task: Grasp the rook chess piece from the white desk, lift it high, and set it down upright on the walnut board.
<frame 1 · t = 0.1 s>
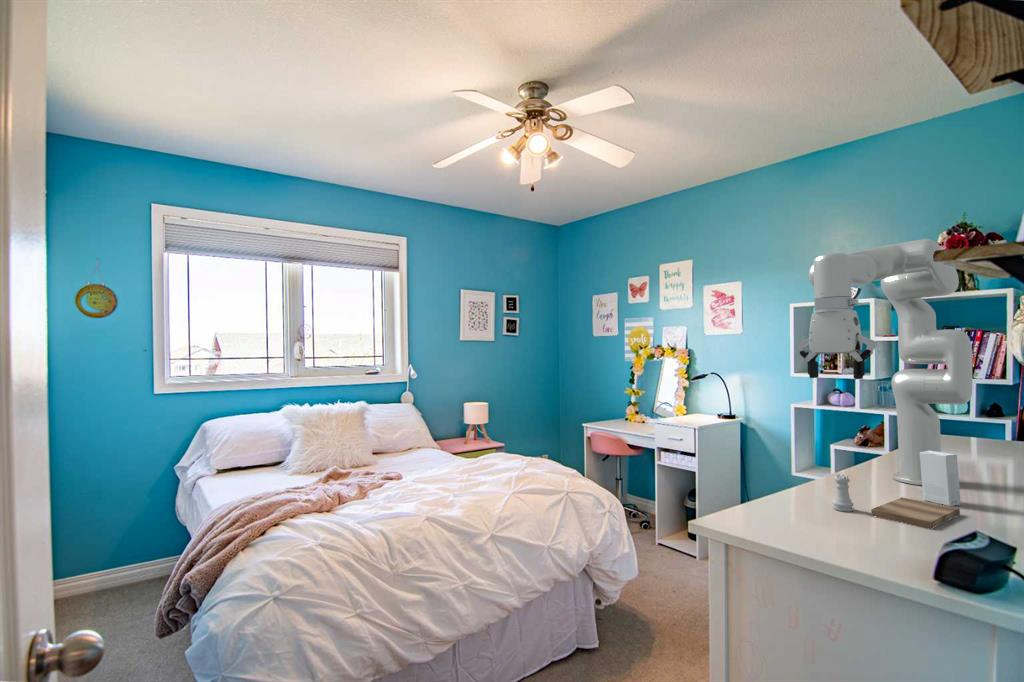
hand: (835, 378, 122), 31 cm above the table, tool pointing down, fingers open, 9 cm apart
rook chess piece: (842, 510, 121), on the table
skincare box: (940, 503, 125), on the table
walnut board: (915, 515, 116), on the table
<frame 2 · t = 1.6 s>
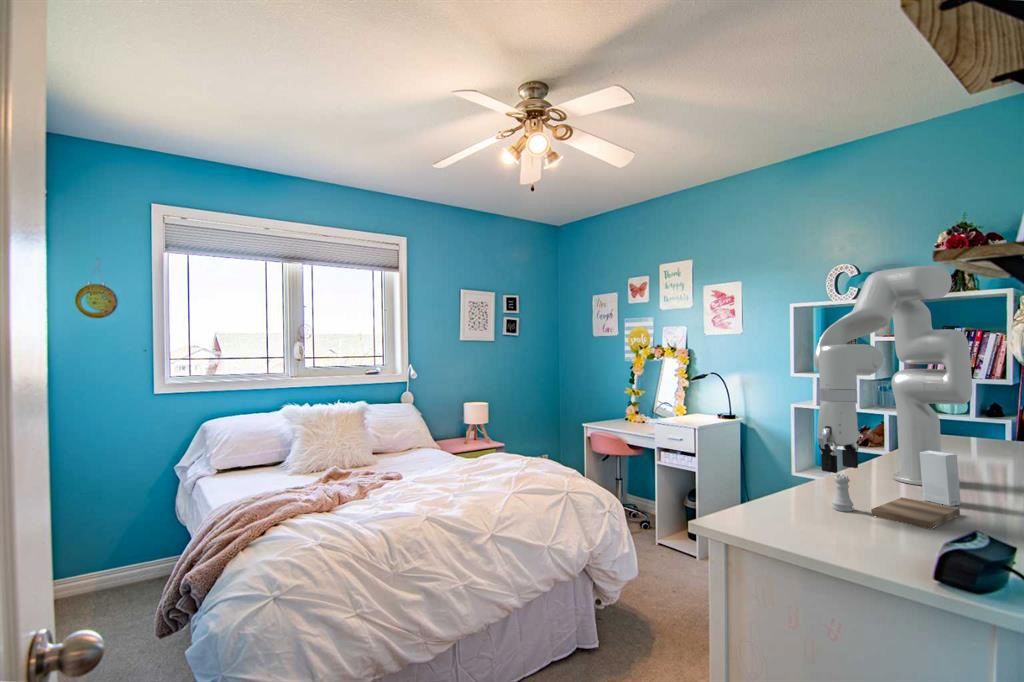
hand: (840, 469, 121), 9 cm above the table, tool pointing down, fingers open, 9 cm apart
nothing on the table moved.
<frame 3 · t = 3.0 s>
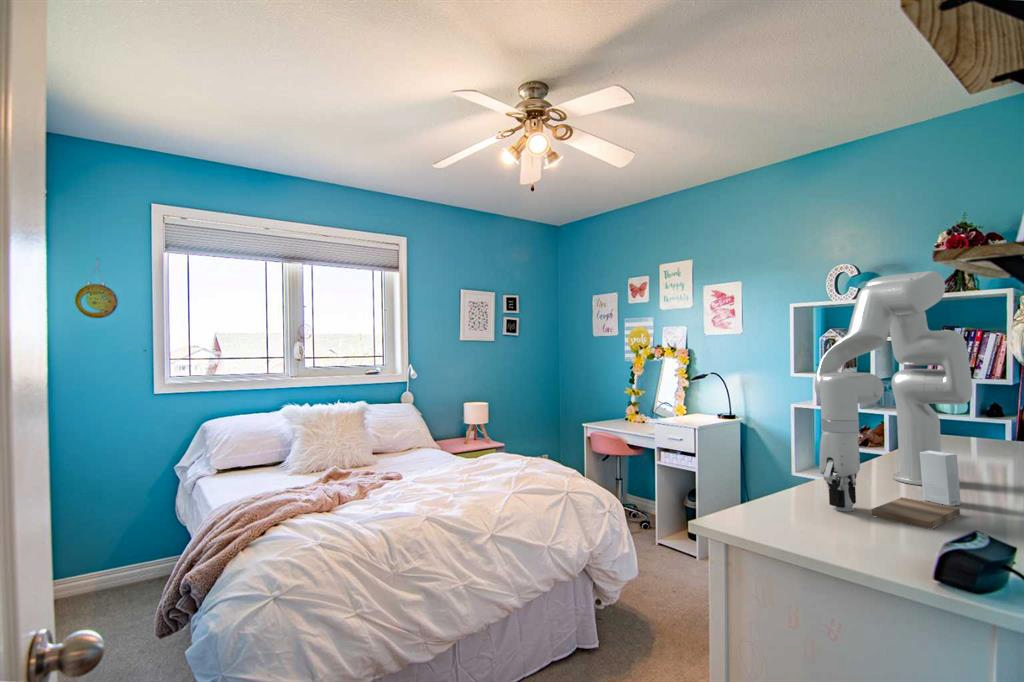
hand: (842, 503, 121), 1 cm above the table, tool pointing down, fingers closed on rook chess piece, 4 cm apart
rook chess piece: (842, 510, 121), on the table, touching gripper
everything else where it was.
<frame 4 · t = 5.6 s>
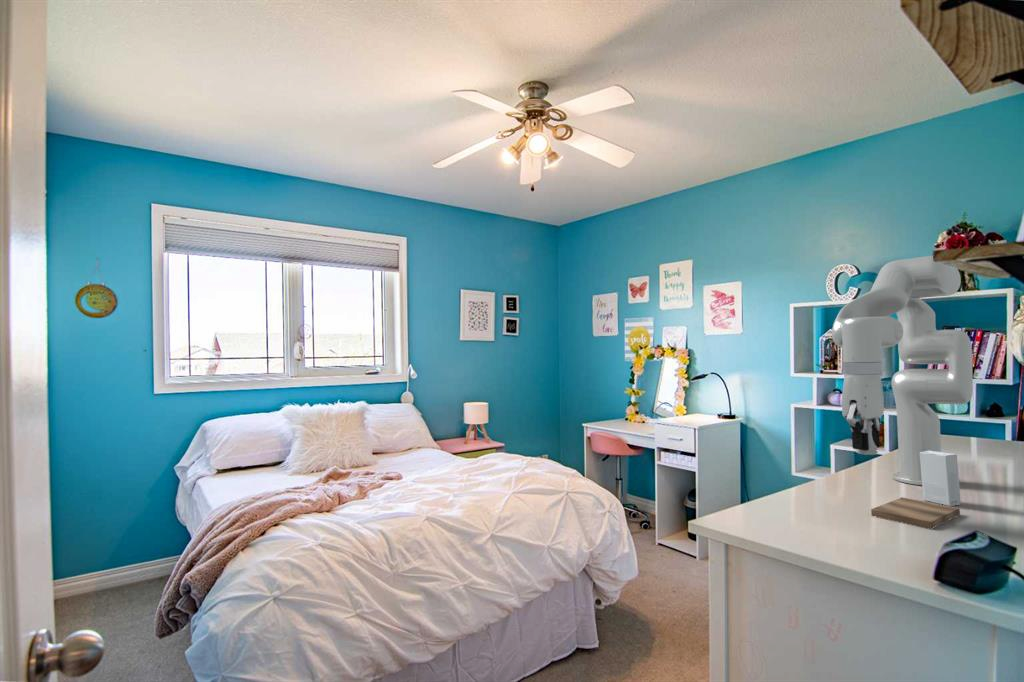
hand: (866, 447, 120), 15 cm above the table, tool pointing down, fingers closed on rook chess piece, 4 cm apart
rook chess piece: (866, 454, 120), point 13 cm above the table, touching gripper
everything else where it was.
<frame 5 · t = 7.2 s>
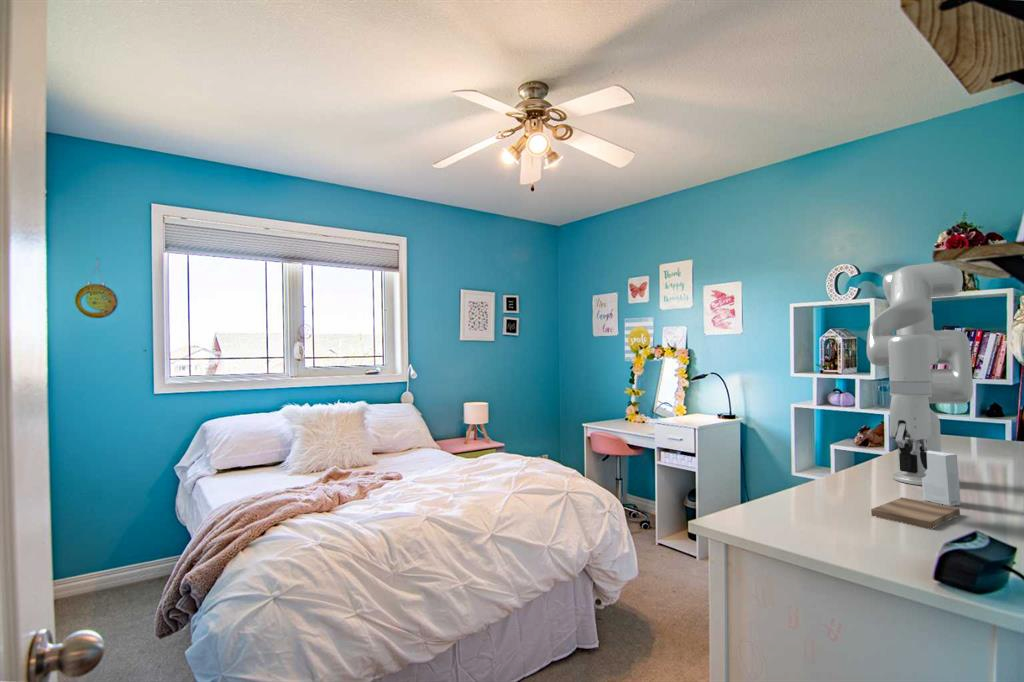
hand: (913, 469, 116), 10 cm above the table, tool pointing down, fingers closed on rook chess piece, 4 cm apart
rook chess piece: (914, 476, 116), point 9 cm above the table, touching gripper
everything else where it was.
when the fingers open (4 cm above the table, at t = 8.6 s): rook chess piece drops 1 cm, resting on walnut board.
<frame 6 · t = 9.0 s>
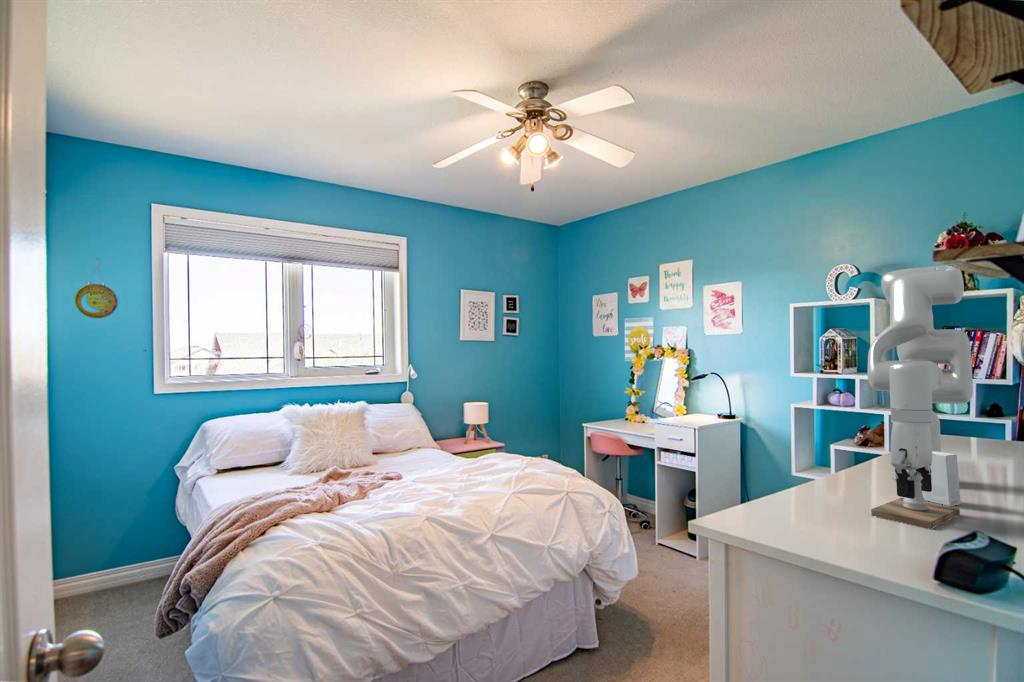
hand: (914, 493, 116), 5 cm above the table, tool pointing down, fingers open, 8 cm apart
rook chess piece: (915, 509, 116), point 1 cm above the table, touching walnut board
everything else where it was.
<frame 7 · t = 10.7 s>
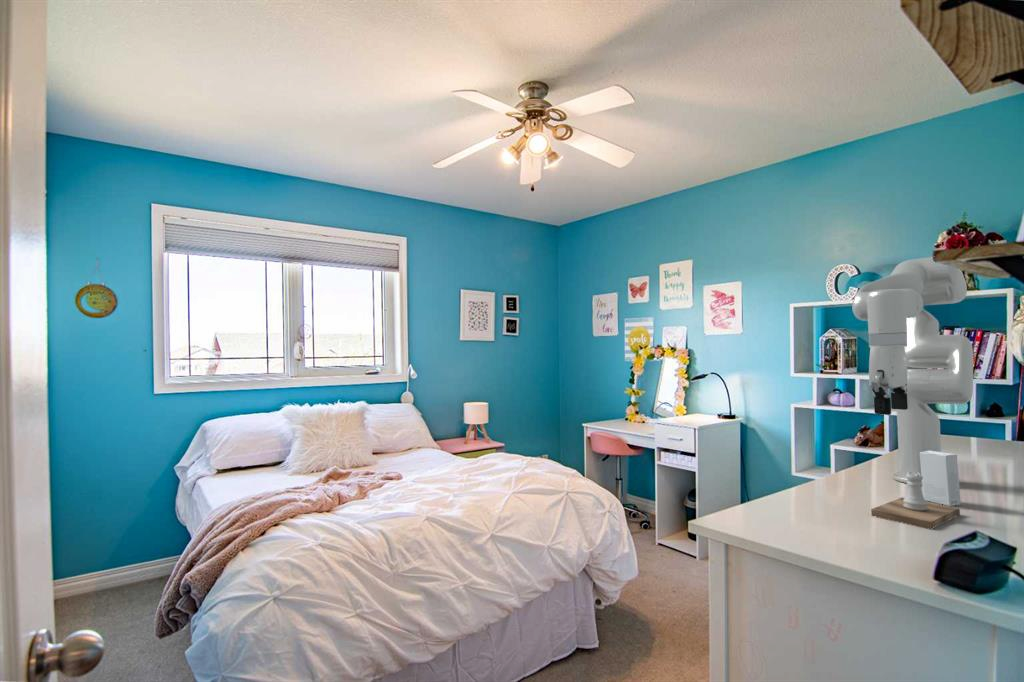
hand: (891, 411, 124), 23 cm above the table, tool pointing down, fingers open, 9 cm apart
nothing on the table moved.
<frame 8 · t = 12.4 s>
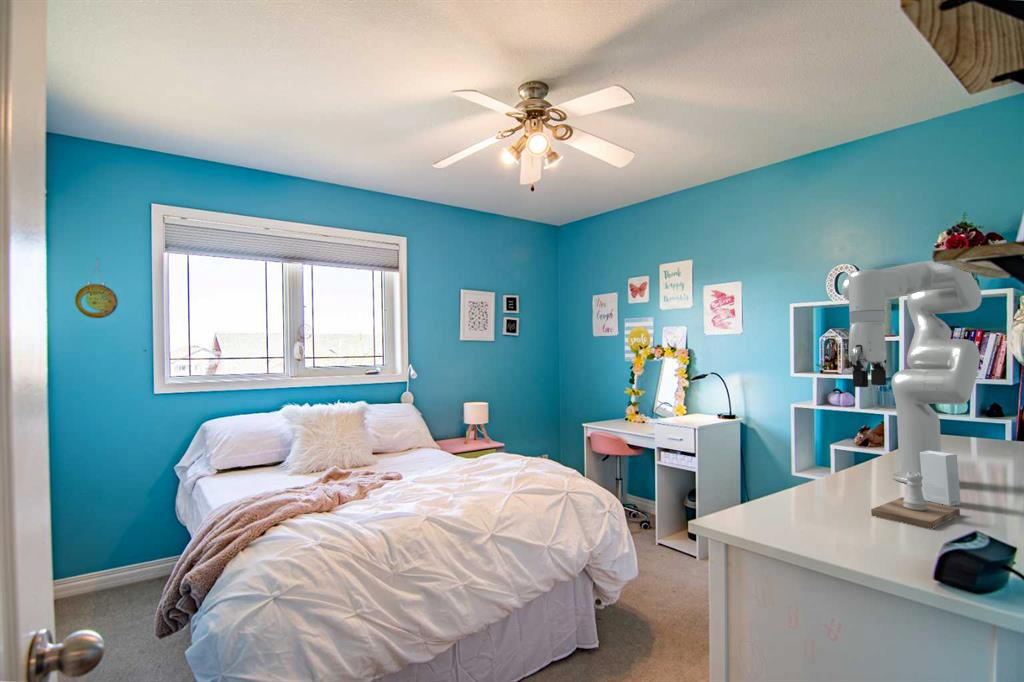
hand: (869, 385, 131), 28 cm above the table, tool pointing down, fingers open, 9 cm apart
nothing on the table moved.
at the end: rook chess piece inside the target area on the walnut board (0.2 cm from its centre), point 1.3 cm above the walnut board's base; rook chess piece tilted 0°; the gripper is holding nothing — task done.
